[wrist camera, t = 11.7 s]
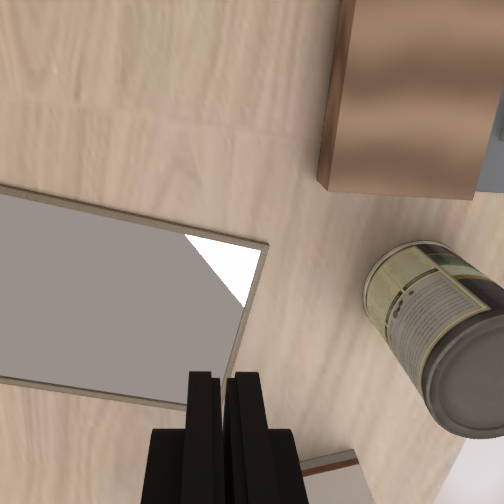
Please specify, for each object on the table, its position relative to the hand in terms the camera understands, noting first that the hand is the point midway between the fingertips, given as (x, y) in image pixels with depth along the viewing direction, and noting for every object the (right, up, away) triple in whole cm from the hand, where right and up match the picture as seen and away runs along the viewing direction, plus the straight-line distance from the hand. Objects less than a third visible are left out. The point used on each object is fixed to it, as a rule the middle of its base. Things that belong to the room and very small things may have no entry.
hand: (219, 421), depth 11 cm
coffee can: (+16, +1, +33) cm, 37 cm away
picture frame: (-14, -1, +31) cm, 34 cm away
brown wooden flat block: (+13, +18, +25) cm, 34 cm away
